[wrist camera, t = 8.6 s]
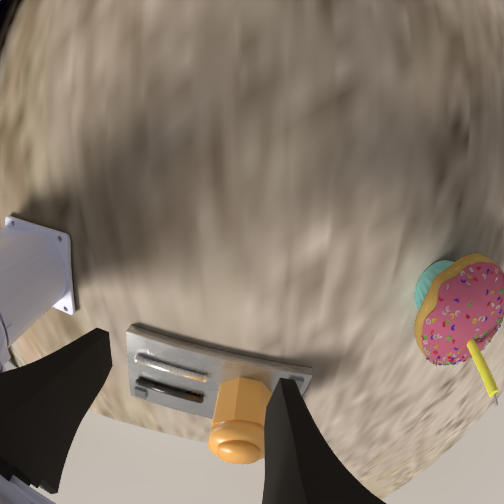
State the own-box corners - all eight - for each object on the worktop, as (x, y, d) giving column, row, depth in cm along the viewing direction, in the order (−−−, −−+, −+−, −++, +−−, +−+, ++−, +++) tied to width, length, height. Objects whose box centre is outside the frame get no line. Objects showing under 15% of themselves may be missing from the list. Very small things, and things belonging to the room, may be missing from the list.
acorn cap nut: (215, 403, 23) (203, 461, 17) (223, 373, 22) (211, 437, 15) (262, 413, 23) (259, 470, 17) (276, 384, 22) (277, 447, 16)
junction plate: (134, 388, 25) (121, 415, 21) (130, 324, 22) (111, 353, 18) (281, 423, 25) (281, 453, 22) (311, 367, 22) (317, 401, 18)
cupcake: (425, 342, 21) (482, 438, 10) (373, 297, 20) (442, 420, 8) (484, 273, 18) (567, 345, 7) (444, 212, 17) (562, 279, 6)
